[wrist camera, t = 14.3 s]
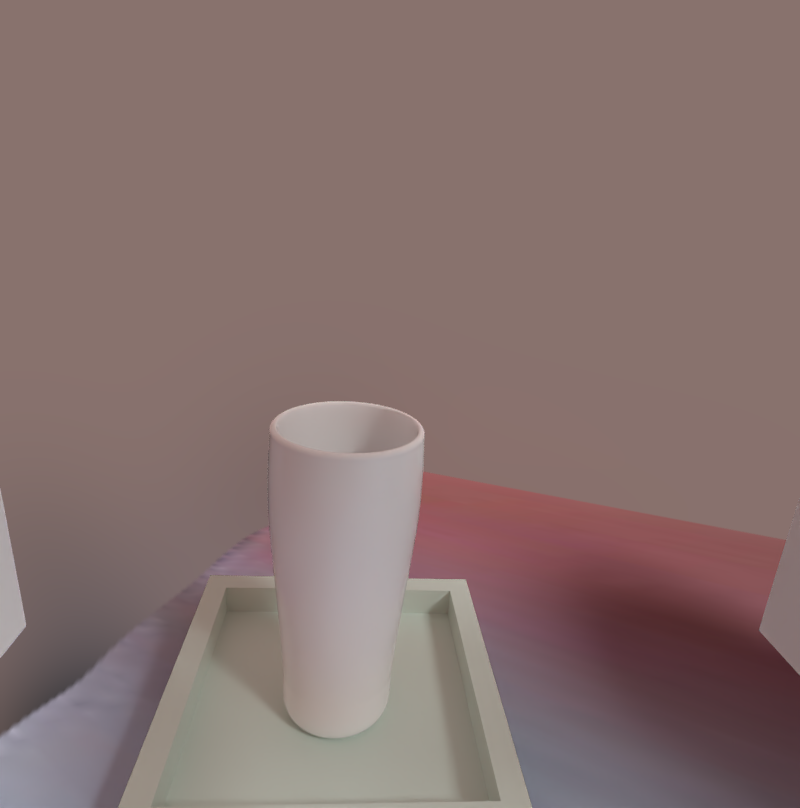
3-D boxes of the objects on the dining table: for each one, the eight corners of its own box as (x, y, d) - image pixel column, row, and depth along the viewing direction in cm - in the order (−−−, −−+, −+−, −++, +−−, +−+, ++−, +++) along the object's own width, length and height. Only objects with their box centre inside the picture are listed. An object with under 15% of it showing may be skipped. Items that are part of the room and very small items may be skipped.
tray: (461, 612, 38) (465, 579, 38) (530, 875, 23) (538, 830, 22) (211, 609, 37) (210, 575, 36) (111, 887, 22) (104, 839, 21)
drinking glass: (257, 759, 26) (253, 452, 22) (278, 651, 33) (279, 396, 28) (407, 759, 27) (435, 459, 22) (398, 653, 33) (419, 402, 29)
